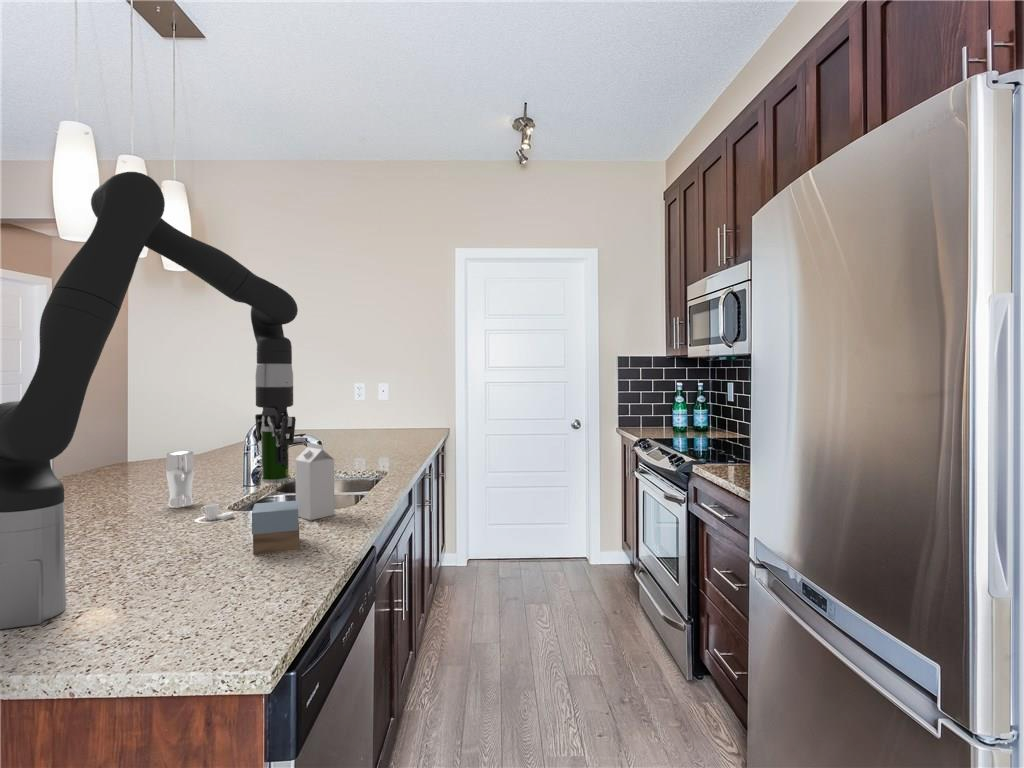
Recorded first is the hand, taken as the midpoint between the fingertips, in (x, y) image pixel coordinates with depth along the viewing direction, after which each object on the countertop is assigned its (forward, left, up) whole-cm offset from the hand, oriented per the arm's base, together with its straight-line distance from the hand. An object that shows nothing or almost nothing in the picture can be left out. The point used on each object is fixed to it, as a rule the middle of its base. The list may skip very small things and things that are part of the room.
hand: (275, 462), depth 121 cm
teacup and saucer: (+27, +15, -19) cm, 36 cm away
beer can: (0, 0, -4) cm, 4 cm away
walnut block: (0, 0, -19) cm, 19 cm away
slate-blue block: (0, 0, -14) cm, 14 cm away
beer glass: (+50, +26, -18) cm, 59 cm away
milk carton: (+24, -9, -18) cm, 32 cm away
